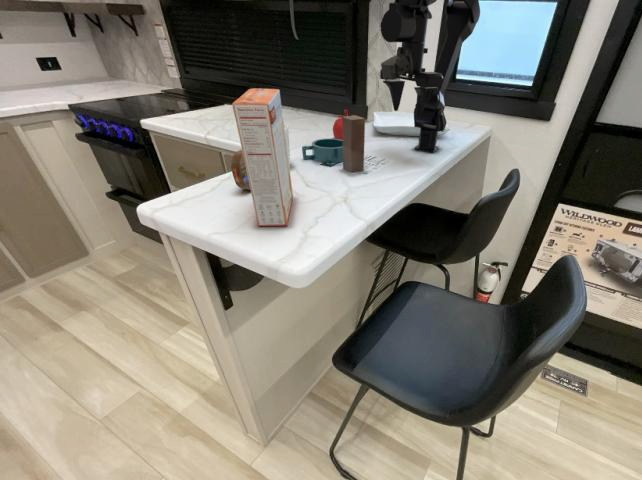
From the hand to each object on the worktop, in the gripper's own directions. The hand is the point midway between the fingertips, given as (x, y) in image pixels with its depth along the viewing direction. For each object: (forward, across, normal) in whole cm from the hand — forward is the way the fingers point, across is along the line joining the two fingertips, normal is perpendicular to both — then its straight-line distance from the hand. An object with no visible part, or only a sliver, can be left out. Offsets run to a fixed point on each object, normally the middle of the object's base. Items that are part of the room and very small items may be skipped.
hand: (406, 113), depth 91 cm
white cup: (+12, -11, -35) cm, 39 cm away
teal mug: (+12, -10, -20) cm, 26 cm away
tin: (+12, -3, -44) cm, 46 cm away
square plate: (+12, -27, +26) cm, 40 cm away
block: (+12, +2, -19) cm, 23 cm away
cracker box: (+12, +14, -47) cm, 50 cm away
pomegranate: (+12, -25, -3) cm, 28 cm away
